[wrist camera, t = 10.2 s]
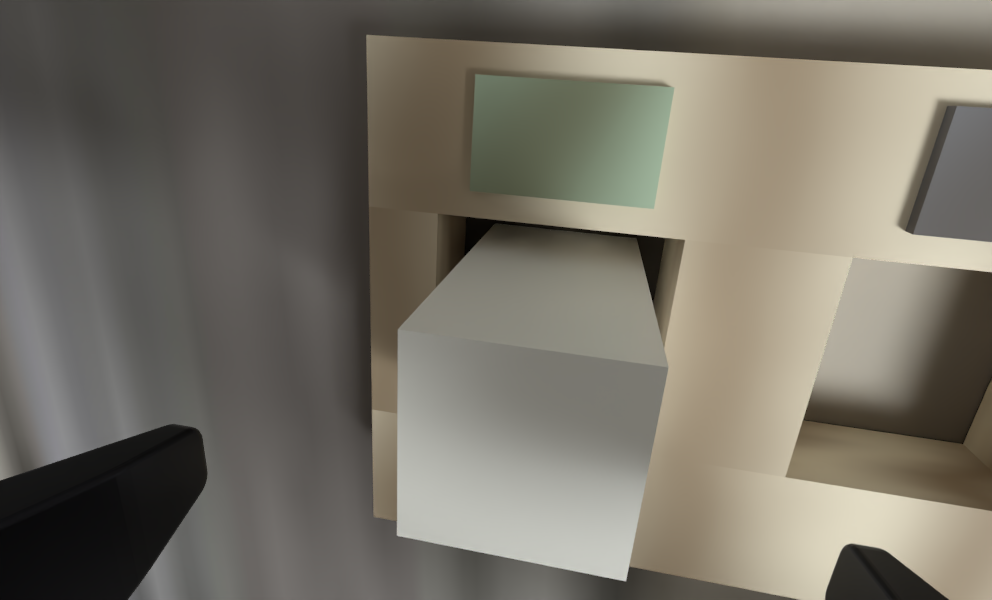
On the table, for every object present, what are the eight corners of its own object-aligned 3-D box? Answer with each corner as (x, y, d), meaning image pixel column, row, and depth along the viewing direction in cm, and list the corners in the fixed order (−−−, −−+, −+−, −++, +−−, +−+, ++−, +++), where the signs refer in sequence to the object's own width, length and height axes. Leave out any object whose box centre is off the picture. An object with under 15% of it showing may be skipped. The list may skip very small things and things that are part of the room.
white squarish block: (636, 238, 15) (668, 367, 8) (615, 366, 16) (625, 581, 9) (494, 223, 16) (397, 328, 8) (486, 348, 17) (396, 535, 10)
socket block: (1207, 95, 12) (1420, 92, 9) (980, 557, 16) (1067, 661, 13) (412, 48, 14) (360, 33, 11) (407, 456, 19) (369, 524, 16)
